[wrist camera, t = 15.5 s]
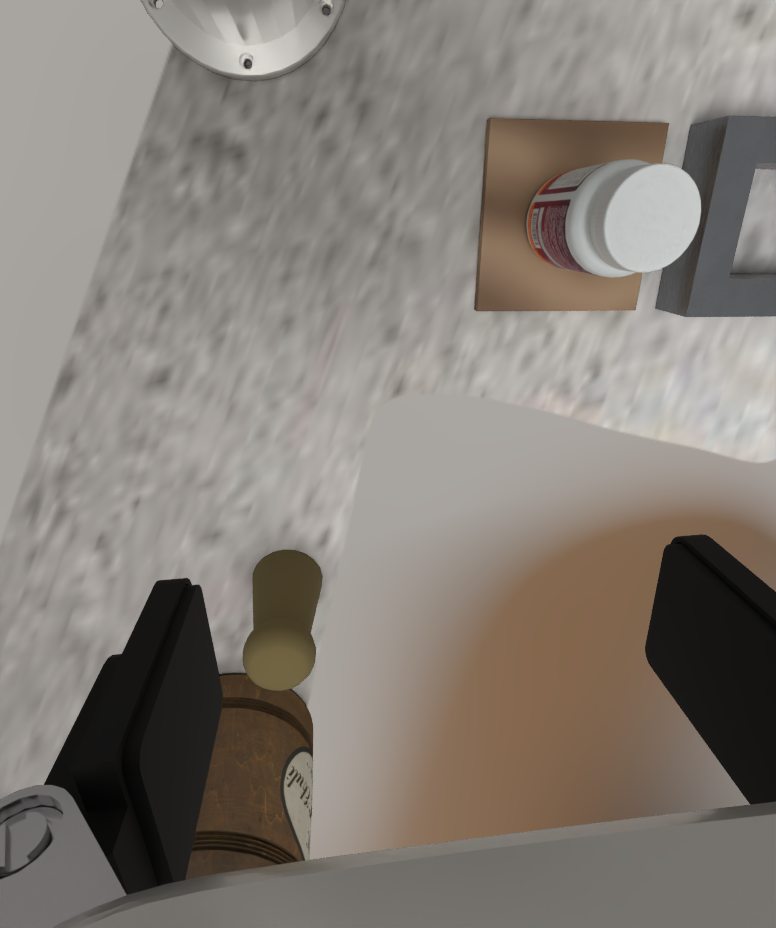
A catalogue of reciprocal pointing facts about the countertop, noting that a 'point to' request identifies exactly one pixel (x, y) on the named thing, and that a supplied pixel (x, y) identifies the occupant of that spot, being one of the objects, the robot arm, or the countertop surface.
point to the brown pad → (511, 193)
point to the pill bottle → (614, 218)
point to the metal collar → (721, 222)
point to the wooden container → (256, 782)
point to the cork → (283, 620)
